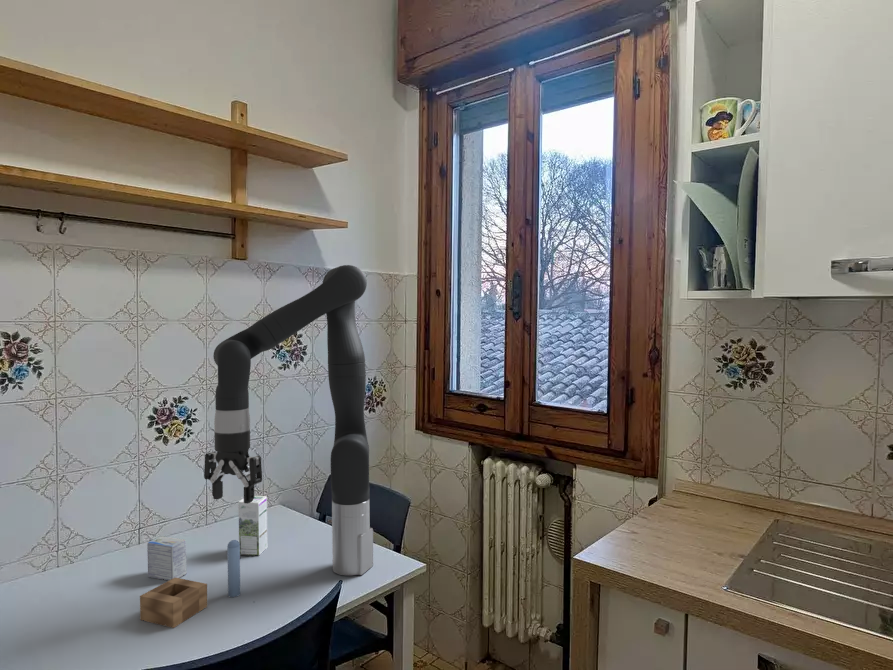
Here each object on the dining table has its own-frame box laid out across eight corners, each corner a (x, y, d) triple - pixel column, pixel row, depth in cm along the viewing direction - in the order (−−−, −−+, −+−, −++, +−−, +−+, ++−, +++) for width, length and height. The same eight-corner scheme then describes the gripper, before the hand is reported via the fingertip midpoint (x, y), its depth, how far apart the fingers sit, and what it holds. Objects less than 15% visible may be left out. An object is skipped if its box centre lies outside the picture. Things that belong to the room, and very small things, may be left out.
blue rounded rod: (242, 592, 127) (242, 538, 127) (234, 597, 124) (234, 543, 124) (233, 590, 128) (232, 537, 128) (225, 596, 125) (224, 541, 125)
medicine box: (187, 574, 137) (186, 539, 136) (172, 582, 132) (172, 546, 132) (162, 570, 139) (161, 535, 139) (147, 577, 135) (146, 542, 135)
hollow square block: (207, 606, 121) (206, 583, 120) (173, 627, 112) (173, 603, 112) (175, 599, 124) (175, 577, 124) (140, 619, 115) (139, 595, 115)
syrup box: (268, 547, 153) (267, 494, 152) (259, 556, 147) (258, 501, 147) (248, 547, 153) (247, 494, 153) (238, 555, 147) (237, 501, 147)
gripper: (269, 427, 127) (269, 499, 127) (219, 424, 132) (220, 492, 132) (246, 433, 120) (247, 509, 120) (194, 429, 125) (195, 502, 125)
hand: (233, 500), depth 126 cm, fingers open, 8 cm apart
